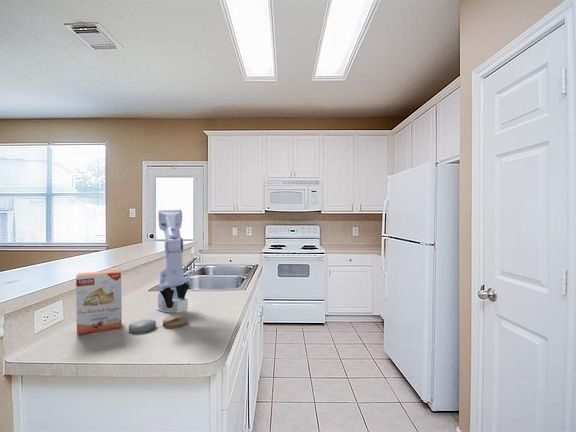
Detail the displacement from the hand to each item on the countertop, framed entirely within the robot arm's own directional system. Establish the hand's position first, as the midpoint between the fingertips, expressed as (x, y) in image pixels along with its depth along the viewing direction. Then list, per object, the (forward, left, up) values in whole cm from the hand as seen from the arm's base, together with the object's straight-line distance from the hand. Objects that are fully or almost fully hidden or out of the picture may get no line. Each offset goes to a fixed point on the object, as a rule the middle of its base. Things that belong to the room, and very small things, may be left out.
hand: (175, 305), depth 119 cm
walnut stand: (0, 0, -7) cm, 7 cm away
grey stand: (-7, -9, -7) cm, 13 cm away
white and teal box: (0, 0, -2) cm, 2 cm away
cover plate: (0, 0, +1) cm, 1 cm away
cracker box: (-21, -16, -7) cm, 27 cm away
